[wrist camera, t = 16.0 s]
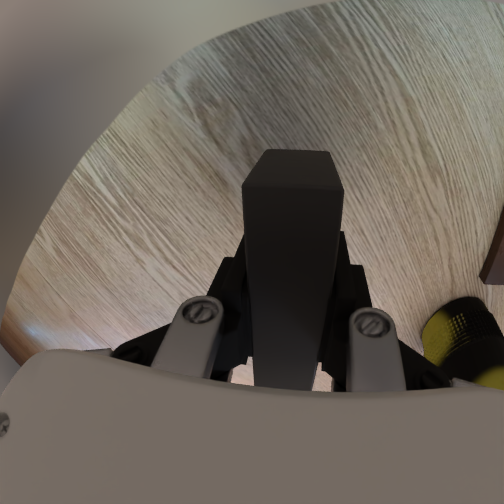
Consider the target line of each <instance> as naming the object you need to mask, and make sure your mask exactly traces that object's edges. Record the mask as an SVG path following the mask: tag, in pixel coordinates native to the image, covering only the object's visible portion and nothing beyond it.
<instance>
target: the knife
mask: <svg viewBox="0 0 504 504" xmlns="http://www.w3.org/2000/svg"><path fill="white" fill-rule="evenodd" d="M343 200H344V188H343V185H342V183H341V180H340V177H339V175H338V172H337V170H336V167H335V165H334V162H333V159H332V157H331V155H330V152H328V151H313V150H287V149H267V150H266V151H265V152H264V153H263V155H262V156H261V158H260V159H259V161H258V162H257V163H256V165H255V166H254V168H253V169H252V171H251V172H250V173H249V175H248V176H247V178H246V179H245V181H244V182H243V184H242V203H243V220H244V236H245V252H246V269H247V284H248V293H249V304H250V321H251V337H252V352H253V357H252V360H253V374H254V386H258V387H267V388H277V389H289V390H302V391H312V387H313V383H314V379H315V375H316V370H317V366H318V362H317V358H318V353H319V348H320V343H321V338H322V333H323V328H324V322H325V317H326V311H327V305H328V300H329V299H330V298H331V294H332V288H333V281H334V275H335V268H336V261H337V253H338V246H339V238H340V229H341V220H342V210H343Z"/></svg>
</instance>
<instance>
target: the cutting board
mask: <svg viewBox="0 0 504 504" xmlns="http://www.w3.org/2000/svg"><path fill="white" fill-rule="evenodd" d="M479 277H480V279H481V280H482V282H483V283H484V284H490V285H504V208H503V211H502V215H501V218H500V221H499V225H498V228H497V231H496V234H495V237H494V240H493V243H492V246H491V248H490V251H489V254H488V256H487V259H486V262H485V264H484V267H483V269H482V271H481V274H480V276H479Z"/></svg>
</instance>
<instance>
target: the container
mask: <svg viewBox="0 0 504 504" xmlns="http://www.w3.org/2000/svg"><path fill="white" fill-rule="evenodd" d="M422 344H423V348H424V357H425V358H426V359H428V360H429V361H430V362H432V363H433V364H435V365H436V366H438V367H439V368H440V369H442V370H443V371H444V372H445V373H446V375H447V376H448V378H449V380H453V378H458V379H461V380H465V381H468V382H472V383H475V384H479V385H482V386H486V387H490V388H495V389H499V390H503V391H504V336H503V334H502V333H501V330H500V328H499V326H498V324H497V322H496V320H495V318H494V316H493V314H491V313H490V312H489V311H488V309H487V307H486V305H485V304H484V303H483V301H481V300H480V299H478V298H471V297H467V298H462V299H459V300H456V301H454V302H451V303H449V304H447V305H446V306H444V307H443V308H442V309H440V310H439V311H438V312H437V313H435V315H434V316H433V317H432V318H431V319H430V320H429V321H428V323H427V324H426V326H425V328H424V330H423V333H422Z"/></svg>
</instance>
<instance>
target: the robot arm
mask: <svg viewBox="0 0 504 504" xmlns="http://www.w3.org/2000/svg"><path fill="white" fill-rule="evenodd" d="M248 356H249V357H253V352H252V337H251V321H250V304H249V293H248V284H247V269H246V252H245V236H244V235H243V237H242V240H241V242H240V244H239V247H238V249H237V251H236V254H235V256H234V257H224V259H223V261H222V263H221V265H220V267H219V269H218V271H217V273H216V275H215V278H214V280H213V282H212V284H211V286H210V288H209V291H208V293H207V295H206V296H196V297H192V298H190V299H188V300H186V301H185V302H184V303H182V304H181V306H180V307H179V308H178V310H177V312H176V314H175V316H174V318H173V321H172V323H170V324H167V325H165V326H163V327H160V328H158V329H156V330H153V331H151V332H149V333H146V334H144V335H142V336H139V337H137V338H134V339H132V340H130V341H127V342H125V343H123V344H121V345H120V346H119V347H117V348H116V349H115V351H112V349H111V348H107V349H96V350H84V351H81V350H72V349H53V350H46V351H42V352H39V353H37V354H35V355H33V356H32V357H31V358H30V359H28V360H27V361H26V362H25V364H24V365H23V366H22V367H21V368H20V369H19V371H18V372H17V373H16V374H15V376H14V377H13V378H12V380H11V381H10V382H9V384H8V385H7V387H6V389H5V390H4V391H3V393H2V395H1V396H0V504H504V391H503V390H499V389H495V388H490V387H486V386H482V385H479V384H475V383H472V382H468V381H465V380H461V379H458V378H453V380H449V378H448V376H447V375H446V373H445V372H444V371H443V370H442V369H440V368H439V367H438V366H436V365H435V364H433V363H432V362H430V361H429V360H428V359H426V358H425V357H423V356H422V355H420V354H419V353H417V352H416V351H415V350H413V349H412V348H410V347H409V346H407V345H406V344H405V343H403V342H402V341H400V340H399V339H398V337H397V332H396V328H395V324H394V321H393V319H392V318H391V317H390V316H389V314H387V313H386V312H384V311H383V310H380V309H377V308H372V303H371V298H370V294H369V289H368V285H367V281H366V277H365V272H364V268H363V266H362V265H352V264H350V259H349V254H348V249H347V244H346V239H345V235H344V231H340V238H339V246H338V253H337V261H336V268H335V275H334V281H333V288H332V294H331V298H330V299H329V300H328V305H327V311H326V317H325V322H324V328H323V333H322V338H321V343H320V348H319V353H318V358H317V362H322V370H321V371H325V372H327V373H328V374H329V375H330V376H331V377H332V382H331V392H321V391H302V390H289V389H277V388H267V387H258V386H250V385H242V384H235V383H230V382H231V378H232V374H233V368H234V367H236V366H238V365H240V364H244V365H246V363H247V359H248Z"/></svg>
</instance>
